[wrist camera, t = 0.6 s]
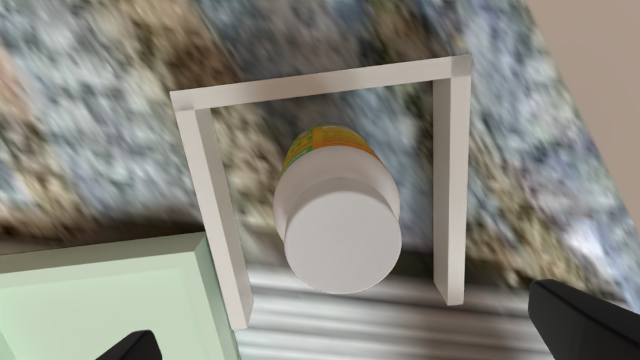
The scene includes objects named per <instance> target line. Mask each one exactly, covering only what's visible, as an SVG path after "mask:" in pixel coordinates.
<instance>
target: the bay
mask: <svg viewBox="0 0 640 360" xmlns="http://www.w3.org/2000/svg"><path fill="white" fill-rule="evenodd" d="M471 61H472V54H466V55H458V56H450V57H442V58H434V59H426V60H418V61H410V62H402V63H394V64H387V65H379V66H371V67H363V68H355V69H347V70H339V71H331V72H323V73H315V74H307V75H299V76H291V77H283V78H275V79H267V80H259V81H251V82H243V83H235V84H227V85H219V86H211V87H203V88H195V89H187V90H180V91H172V92H169V93H170V96H171V100H172V104H173V108H174V112H175V115H176V119H177V123H178V127H179V131H180V134H181V138H182V142H183V146H184V150H185V154H186V157H187V161H188V165H189V169H190V173H191V176H192V180H193V184H194V188H195V192H196V195H197V199H198V203H199V207H200V211H201V214H202V218H203V222H204V226H205V230H206V233H207V237H208V241H209V245H210V249H211V252H212V256H213V260H214V264H215V268H216V271H217V275H218V279H219V283H220V287H221V290H222V294H223V298H224V302H225V306H226V309H227V313H228V317H229V321H230V325H231V328H232V330H236V329H245V328H247V327H248V323H249V319H250V315H251V311H252V307H253V304H254V300H253V295H252V291H251V286H250V282H249V278H248V273H247V269H246V264H245V260H244V256H243V251H242V247H241V242H240V238H239V233H238V229H237V225H236V220H235V216H234V211H233V207H232V203H231V198H230V194H229V189H228V185H227V180H226V176H225V172H224V167H223V163H222V158H221V154H220V150H219V145H218V141H217V136H216V132H215V127H214V123H213V119H212V114H211V110H210V108H212V107H220V106H228V105H236V104H244V103H252V102H260V101H268V100H276V99H284V98H292V97H300V96H308V95H316V94H324V93H332V92H340V91H348V90H357V89H365V88H373V87H381V86H389V85H397V84H405V83H413V82H421V81H429V80H433V245H434V283H435V285H436V286H437V288H438V290H439V292H440V293H441V295H442V297H443V298H444V300H445V302H446V304H447V305H448V306H451V305H460V304H463V301H464V271H465V241H466V211H467V181H468V151H469V121H470V91H471Z"/></svg>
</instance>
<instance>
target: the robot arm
mask: <svg viewBox="0 0 640 360" xmlns="http://www.w3.org/2000/svg"><path fill="white" fill-rule="evenodd" d="M528 313H529V316H530V319H531V321H532V322H533V324H534V326H535V327H536V329H537V331H538V332H539V334H540V336H541V337H542V339H543V341H544V342H545V344H546V345H547V347H548V349H549V350H550V352H551V354H552V355H553V357H554V359H555V360H640V315H639V314H637V313H634V312H632V311H629V310H627V309H625V308H622V307H620V306H617V305H615V304H612V303H610V302H607V301H605V300H603V299H600V298H598V297H595V296H593V295H590V294H588V293H585V292H583V291H581V290H578V289H576V288H573V287H571V286H568V285H566V284H563V283H561V282H559V281H556V280H553V279H542V280H535V281H533V282H532V283H531V285H530V292H529V303H528ZM95 360H163V358H162V353H161V351H160V348H159V345H158V343H157V340H156V338H155V335H154V333H153V332H152V331H151V330H139V331H134V332H131V333H130V334H128V335H127V336H126V337H124V338H123V339H122V340H120V341H119V342H118V343H116V344H115V345H114V346H112V347H111V348H110V349H108V350H107V351H106V352H104V353H103V354H102V355H100V356H99V357H98V358H96V359H95Z"/></svg>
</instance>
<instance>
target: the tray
mask: <svg viewBox="0 0 640 360" xmlns="http://www.w3.org/2000/svg"><path fill="white" fill-rule="evenodd" d="M139 330H151V331H152V332H153V333H154V335H155V338H156V340H157V343H158V345H159V348H160V351H161V353H162V358H163V360H241V358H240V354H239V350H238V346H237V343H236V339H235V335H234V331H233V330H232V328H231V325H230V321H229V317H228V313H227V309H226V306H225V302H224V298H223V294H222V290H221V287H220V283H219V279H218V275H217V271H216V268H215V264H214V260H213V256H212V252H211V249H210V245H209V241H208V237H207V233H206V232H197V233H188V234H180V235H171V236H163V237H154V238H146V239H137V240H129V241H120V242H112V243H103V244H95V245H86V246H78V247H69V248H61V249H52V250H44V251H35V252H26V253H18V254H9V255H1V256H0V360H95V359H96V358H98V357H99V356H100V355H102V354H103V353H104V352H106V351H107V350H108V349H110V348H111V347H112V346H114V345H115V344H116V343H118V342H119V341H120V340H122V339H123V338H124V337H126V336H127V335H128V334H130V333H131V332H134V331H139Z"/></svg>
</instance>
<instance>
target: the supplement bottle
mask: <svg viewBox="0 0 640 360" xmlns="http://www.w3.org/2000/svg"><path fill="white" fill-rule="evenodd" d="M399 215H400V198H399V193H398V189H397V186H396V184H395V182H394V180H393V178H392V176H391V174H390V173H389V171H388V170H387V168H386V167H385V166H384V164H383V163H382V162H381V161H380V159H379V158H378V157H377V156H376V154H375V153H374V152H373V150H372V149H371V148H370V146H369V145H368V144H367V142H366V141H365V140H364V139H363V138H362V137H361V136H360V135H359V134H358V133H357V132H355V131H354V130H352V129H350V128H348V127H346V126H343V125H340V124H331V123H329V124H320V125H316V126H313V127H311V128H309V129H307V130H306V131H304V132H303V133H301V134H300V135H299V136H298V137H297V138H296V139H295V140H294V142H293V143H292V145H291V147H290V149H289V151H288V153H287V156H286V159H285V162H284V165H283V168H282V171H281V174H280V177H279V181H278V184H277V187H276V190H275V195H274V200H273V217H274V222H275V226H276V229H277V231H278V233H279V235H280V237H281V239H282V240H283V242H284V249H285V254H286V258H287V260H288V263H289V265H290V267H291V268H292V270H293V271H294V273H295V274H296V275H297V276H298V277H299V278H300V279H301V280H302V281H304V282H305V283H306V284H308V285H309V286H311V287H313V288H315V289H318V290H320V291H323V292H327V293H333V294H349V293H355V292H359V291H363V290H365V289H368V288H370V287H372V286H374V285H375V284H377V283H378V282H380V281H381V280H382V279H383V278H385V277H386V276H387V275H388V274H389V272H390V271H391V270H392V268H393V267H394V266H395V264H396V262H397V260H398V257H399V254H400V251H401V245H402V236H401V230H400V226H399V223H398V220H399Z"/></svg>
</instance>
